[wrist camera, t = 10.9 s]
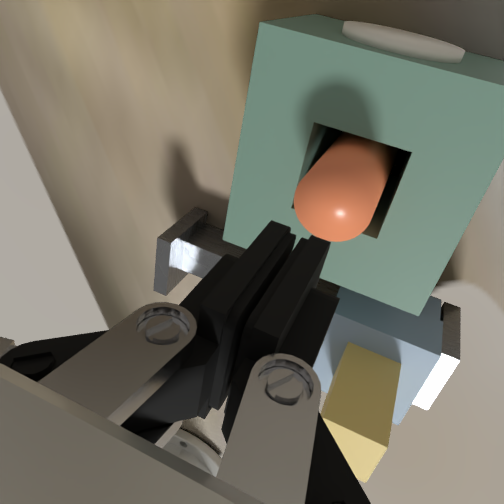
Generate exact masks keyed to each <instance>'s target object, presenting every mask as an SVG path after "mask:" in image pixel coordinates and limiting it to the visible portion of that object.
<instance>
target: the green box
mask: <svg viewBox="0 0 504 504" xmlns="http://www.w3.org/2000/svg"><path fill="white" fill-rule="evenodd" d="M340 130H342V131H345V132H348V133H351V134H354V135H358V136H361V137H364V138H367V139H371V140H374V141H377V142H380V143H384V144H387V145H390V146H393V147H397V148H400V149H403V150H406V151H409V152H408V155H407V157H406V160H405V162H404V165H403V167H402V170H401V172H400V175H399V177H396V176H393V175H389V177H388V180H387V182H386V185H385V187H384V190H383V192H382V195H381V197H380V199H379V202H378V204H377V207H376V209H375V212H374V214H373V217H372V219H371V221H370V224H369V225H368V227H367V228H366V229H365V230H364V231H363V232H362V233H361V234H360V235H358V236H357V237H355V238H353V239H350V240H347V241H341V242H333V241H329V242H331V244H330V248H329V251H328V254H327V257H326V260H325V263H324V266H323V269H322V272H321V274H320V277H319V278H322V279H324V280H327V281H329V282H332V283H334V284H337V285H339V286H342V287H345V288H347V289H350V290H352V291H355V292H357V293H360V294H362V295H365V296H368V297H370V298H373V299H375V300H378V301H380V302H383V303H385V304H388V305H391V306H393V307H396V308H398V309H401V310H403V311H406V312H408V313H411V314H414V315H416V316H419V315H420V313H421V311H422V310H423V308H424V306H425V304H426V302H427V300H428V298H429V297H430V295H431V293H432V291H433V289H434V287H435V285H436V284H437V282H438V280H439V278H440V276H441V274H442V272H443V270H444V269H445V267H446V265H447V263H448V261H449V259H450V257H451V256H452V254H453V252H454V250H455V248H456V246H457V244H458V242H459V241H460V239H461V237H462V235H463V233H464V231H465V229H466V228H467V226H468V224H469V222H470V220H471V218H472V216H473V215H474V213H475V211H476V209H477V207H478V205H479V203H480V201H481V200H482V198H483V196H484V194H485V192H486V190H487V188H488V187H489V185H490V183H491V181H492V179H493V177H494V175H495V173H496V172H497V170H498V168H499V166H500V164H501V162H502V160H503V159H504V61H502V60H498V59H494V58H490V57H486V56H482V55H478V54H474V53H470V52H466V51H465V50H464V49H462V48H460V47H458V46H456V45H453V44H450V43H448V42H445V41H442V40H438V39H435V38H432V37H428V36H425V35H421V34H417V33H413V32H409V31H405V30H401V29H396V28H392V27H387V26H382V25H377V24H371V23H365V22H357V21H342V20H338V19H334V18H330V17H326V16H322V15H318V14H312V15H305V16H298V17H291V18H284V19H276V20H269V21H262V22H260V23H259V29H258V35H257V41H256V47H255V53H254V59H253V64H252V70H251V76H250V82H249V88H248V94H247V99H246V105H245V111H244V117H243V123H242V129H241V134H240V140H239V146H238V152H237V158H236V164H235V170H234V175H233V181H232V187H231V193H230V199H229V205H228V210H227V216H226V222H225V228H224V234H223V240H225V241H227V242H230V243H232V244H235V245H237V246H240V247H242V248H245V249H247V248H248V247H249V246H250V245H251V243H252V242H253V241H254V240H255V239H256V238H257V236H258V235H259V234H260V233H261V232H262V230H263V229H264V228H265V227H266V226H267V224H268V223H269V222H270V221H271V220H273V221H275V222H278V223H281V224H283V225H286V226H289V227H291V232H290V233H292V234H295V235H296V240H295V244H294V247H293V249H294V248H295V246H296V245H297V243H298V242H299V240H300V239H301V238H302V237H303V238H306V239H309V237H310V236H311V235H313V234H311V233H310V232H309V231H308V230H306V229H305V228H304V226H303V225H302V224H301V222H300V221H299V219H298V217H297V215H296V212H295V208H294V195H295V191H296V188H297V186H298V184H299V182H300V181H301V180H302V178H303V177H304V176H305V175H306V174H307V173H308V172H309V170H310V169H311V168H312V167H313V166H314V165H315V163H316V162H317V161H318V160H319V159H320V158H321V157H322V155H323V154H324V153H325V152H326V151H327V150H328V148H329V147H330V146H331V145H332V144H333V143H334V141H335V140H336V139H337V138H338V137H339V133H340ZM313 236H314V235H313Z"/></svg>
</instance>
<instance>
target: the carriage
mask: <svg viewBox="0 0 504 504" xmlns="http://www.w3.org/2000/svg"><path fill="white" fill-rule="evenodd" d="M336 297H338V298H340V300H339V303H338V305H337V308H336V311H335V313H334V316H333V318H332V321H331V324H330V326H329V329H328V331H327V334H326V336H325V339H324V341H323V344H322V346H321V349H320V351H319V354H318V356H317V359H316V361H315V364H314V366H313V370H314V371H315V372H316V374H317V375H318V378H319V380H320V383H321V391H323V392H326V393H327V396H326V399H325V402H324V406H323V408H322V411H321V414H320V415H321V416H322V418H323V420H324V422H325V423H326V425H327V427H328V429H329V431H330V432H331V434H332V436H333V438H334V439H335V441H336V443H337V445H338V446H339V448H340V450H341V452H342V454H343V455H344V457H345V459H346V461H347V462H348V464H349V466H350V468H351V469H352V471H353V473H354V475H355V477H356V478H357V479H359V480H361V481H363V482H365V483H366V482H367V480H368V478H369V477H370V475H371V474H372V472H373V471H374V468H375V467H376V466H377V464H378V463H379V460H380V459H381V457H382V456H383V454H384V453H385V451H386V450H387V448H388V443H389V437H390V431H391V424H392V423H394V424H397V425H399V424H400V422H401V421H402V419H403V417H404V416H405V414H406V412H407V411H408V409H409V408H410V406H411V404H412V403H413V401H414V400H415V398H416V396H417V395H418V393H419V391H420V390H421V388H422V387H423V385H424V383H425V382H426V380H427V379H428V377H429V375H430V374H431V372H432V370H433V369H434V367H435V366H436V364H437V362H438V361H439V359H440V357H441V350H442V334H443V321H440V314H441V300H440V299H438V298H435V297H432V296H430V297H429V298H428V300H427V302H426V304H425V306H424V308H423V310H422V311H421V313H420V315H419V316H416V315H414V314H411V313H408V312H406V311H403V310H401V309H398V308H396V307H393V306H391V305H388V304H385V303H383V302H380V301H378V300H375V299H373V298H370V297H368V296H365V295H362V294H360V293H357V292H355V291H352V290H350V289H347V288H345V287H342V286H340V289H339V291H338V294H337V296H336Z"/></svg>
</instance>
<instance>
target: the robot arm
mask: <svg viewBox="0 0 504 504" xmlns="http://www.w3.org/2000/svg"><path fill="white" fill-rule="evenodd" d="M290 232H291V227H289V226H286V225H283V224H281V223H278V222H275V221H273V220H271V221H270V222H269V223H268V224H267V226H266V227H265V228H264V229H263V230H262V232H261V233H260V234H259V235H258V236H257V238H256V239H255V240H254V241H253V242H252V243H251V245H250V246H249V247H248V248H247V249H246V251H245V252H244V253H243V254H242V255H241V257H240V258H237V257H235V256H232V255H230V254H225V255H224V256H223V257H222V258H221V259H220V260H219V261H218V262H217V264H216V265H215V266H214V267H213V268H212V269H211V270H210V271H209V272H208V273H207V275H206V276H205V277H204V278H203V279H202V280H201V281H200V282H199V283H198V285H197V286H196V287H195V288H194V289H193V290H192V291H191V292H190V293H189V294H188V296H187V297H186V298H185V299H184V300H183V301H182V302H181V303H180V304H179V305H177V304H173V303H167V302H156V303H152V304H148V305H145V306H143V307H141V308H139V309H138V310H136V311H135V312H133V313H132V314H131V315H129V316H128V317H127V318H125V319H124V320H122V321H121V322H120V323H118V324H117V325H116V326H114V327H113V328H111V329H110V330H107V331H100V332H94V333H87V334H79V335H73V336H66V337H59V338H52V339H46V340H39V341H33V342H29V343H25V344H21V345H19V346H15V343H14V340H11V339H7V338H3V337H0V504H371V503H370V501H369V500H368V498H367V496H366V494H365V492H364V491H363V489H362V487H361V485H360V484H359V482H358V480H357V478H356V477H355V475H354V473H353V471H352V469H351V468H350V466H349V464H348V462H347V461H346V459H345V457H344V455H343V454H342V452H341V450H340V448H339V446H338V445H337V443H336V441H335V439H334V438H333V436H332V434H331V432H330V431H329V429H328V427H327V425H326V423H325V422H324V420H323V418H322V416H321V415H320V413H319V404H320V397H321V383H320V380H319V378H318V375H317V374H316V372H315V371H314V370H313V366H314V364H315V361H316V359H317V356H318V354H319V351H320V349H321V346H322V344H323V341H324V339H325V336H326V334H327V331H328V329H329V326H330V324H331V321H332V318H333V316H334V313H335V311H336V308H337V305H338V303H339V300H340V298H338V297H335V296H333V295H330V294H328V293H325V292H323V291H320V290H318V289H316V286H317V283H318V280H319V277H320V274H321V272H322V269H323V266H324V263H325V260H326V257H327V254H328V251H329V248H330V244H331V242H329V241H327V240H324V239H321V238H319V237H316V236H313V235H311V236H310V237H309V239H306V238H303V237H302V238H301V239H300V240H299V242H298V243H297V245H296V246H295V248H294V249H293V247H294V244H295V240H296V235H295V234H292V233H290ZM227 396H228V398H227ZM226 398H227V402H226V406H225V410H224V413H225V416H224V421H223V425H222V429H221V430H222V432H223V435H224V438H225V441H226V443H227V446H226V449H225V452H224V455H223V458H222V459H221V457H220V456H219V455H218V454H217V453H216V452H215V451H214V450H213V449H212V448H210V447H209V446H208V445H207V444H206V443H204V442H203V441H202V440H200V439H199V438H197V437H196V436H194V435H192V434H190V433H188V432H186V431H184V430H182V429H179V428H180V427H181V425H182V422H183V420H186V419H190V418H194V417H197V416H199V417H201V418H203V419H205V418H206V416H207V415H208V413H209V411H210V410H211V408H214V409H216V410H219V409H220V408H221V406H222V404H223V403H224V401H225V399H226Z"/></svg>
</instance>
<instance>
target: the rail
mask: <svg viewBox="0 0 504 504" xmlns="http://www.w3.org/2000/svg"><path fill="white" fill-rule="evenodd" d="M206 219H207V212H206V211H204V210H201V209H198V208H196V207H195V208H194V209H193V210H191V211H190V212H189V213H188V214H186V215H185V216H184V217H183V218H181V219H180V220H179V221H178V222H176V223H175V224H174V225H173V226H171V227H170V228H169V229H168V230H166V231H165V232H164V233H163V234H161V235H160V236H159V237H158V238H157V250H156V264H155V278H154V291H156V292H158V293H161V294H163V295H165V296H166V295H167V294H168V293H169V292H170V291H171V290H172V289H173V288H174V287H175V286H176V285H177V284H178V283H179V282H180V281H181V280H182V279H183V278H184V277H185V276H186V275H187V274H188V273H191V274H193V275H196V276H198V277H200V278H204V277H205V276H206V275H207V273H208V272H209V271H210V270H211V269H212V268H213V267H214V266H215V265H216V264H217V262H218V261H219V260H220V259H221V258H222V257H223V256H224V255H225V254H230V255H232V256H235V257H237V258H240V257H241V255H242V254H243V253H244V252H245V251H246V249H245V248H242V247H240V246H237V245H235V244H232V243H230V242H227V241H225V240H223V234H224V230H221V229H218V228H216V227H213V226H211V225H208V224H206ZM316 289H318V290H320V291H323V292H325V293H328V294H330V295H333V296H335V297H336V296H337V294H338V291H339V289H340V286H339V285H337V284H334V283H332V282H329V281H327V280H324V279H322V278H319V280H318V283H317V286H316ZM440 321H443V334H442V350H441V357H440V359H439V361H438V362H437V364H436V366H435V367H434V369H433V370H432V372H431V374H430V375H429V377H428V379H427V380H426V382H425V383H424V385H423V387H422V388H421V390H420V391H419V393H418V395H417V396H416V398H415V400H414V401H413V403H412V404H414V405H417V406H419V407H421V408H424V409H426V410H428V409H429V407H430V405H431V404H432V402H433V401H434V399H435V398H436V396H437V395H438V393H439V392H440V390H441V389H442V387H443V386H444V384H445V383H446V381H447V380H448V378H449V377H450V375H451V374H452V372H453V370H454V369H455V368H456V366H457V364H458V363H459V361H460V307H457V306H454V305H452V304H449V303H446V302H444V304H443V305H442V307H441V314H440Z"/></svg>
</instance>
